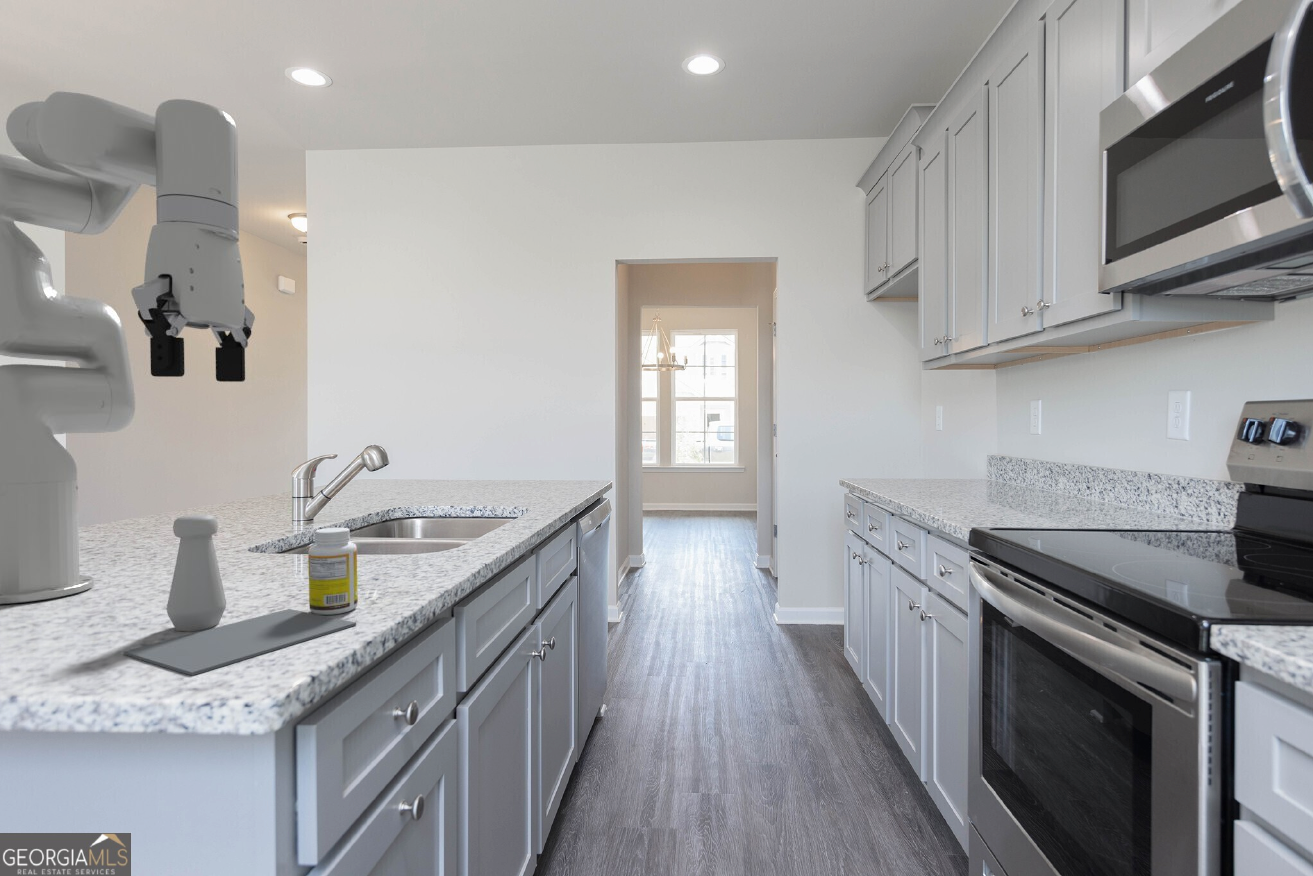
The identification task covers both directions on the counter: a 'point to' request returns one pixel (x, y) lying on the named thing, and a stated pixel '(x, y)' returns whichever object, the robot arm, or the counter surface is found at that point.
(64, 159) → the robot arm
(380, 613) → the counter surface
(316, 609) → the supplement bottle
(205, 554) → the salt shaker
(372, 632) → the counter surface
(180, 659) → the mat
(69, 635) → the counter surface
